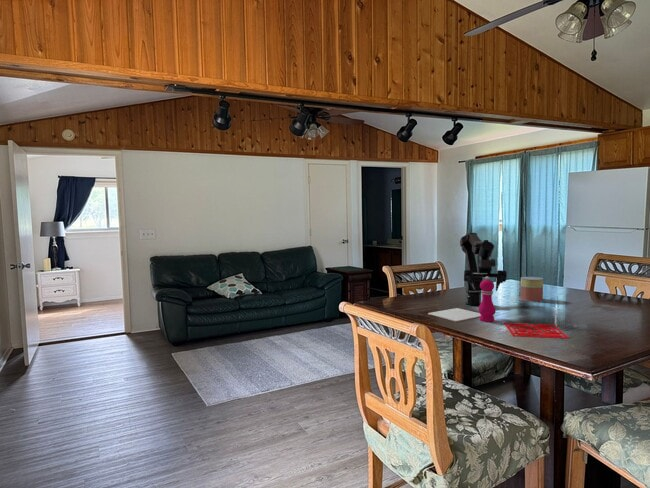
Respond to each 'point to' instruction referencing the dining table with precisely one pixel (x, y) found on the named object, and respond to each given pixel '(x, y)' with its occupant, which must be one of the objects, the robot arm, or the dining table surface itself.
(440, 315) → the grey mat
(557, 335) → the maze puzzle
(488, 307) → the pepper mill
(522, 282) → the canned food
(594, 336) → the dining table surface
